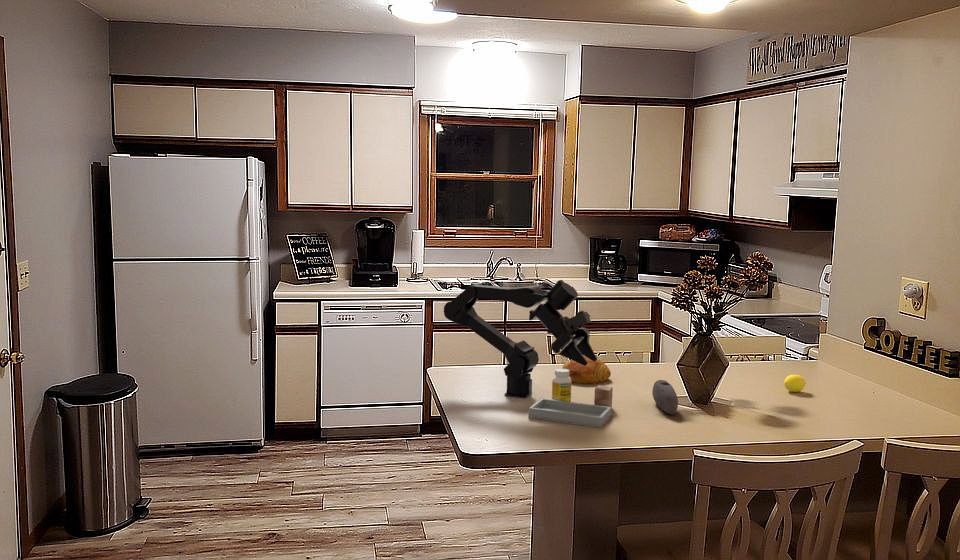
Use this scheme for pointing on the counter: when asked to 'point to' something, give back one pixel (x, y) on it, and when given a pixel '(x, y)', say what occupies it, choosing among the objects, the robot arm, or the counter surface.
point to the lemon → (794, 383)
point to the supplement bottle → (561, 385)
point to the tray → (570, 412)
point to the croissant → (587, 371)
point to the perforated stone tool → (665, 396)
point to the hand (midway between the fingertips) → (591, 362)
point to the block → (603, 396)
